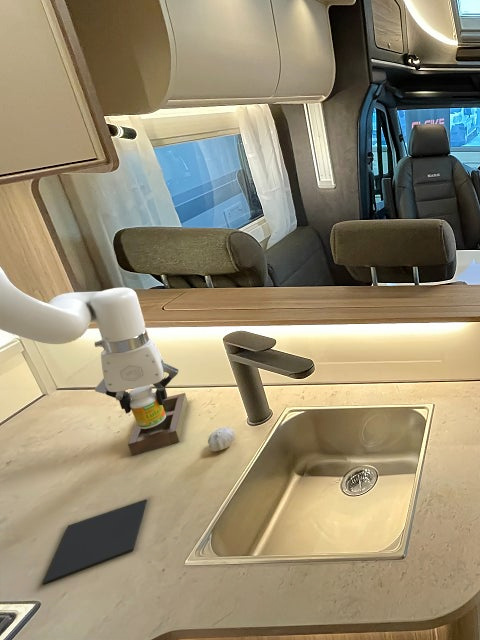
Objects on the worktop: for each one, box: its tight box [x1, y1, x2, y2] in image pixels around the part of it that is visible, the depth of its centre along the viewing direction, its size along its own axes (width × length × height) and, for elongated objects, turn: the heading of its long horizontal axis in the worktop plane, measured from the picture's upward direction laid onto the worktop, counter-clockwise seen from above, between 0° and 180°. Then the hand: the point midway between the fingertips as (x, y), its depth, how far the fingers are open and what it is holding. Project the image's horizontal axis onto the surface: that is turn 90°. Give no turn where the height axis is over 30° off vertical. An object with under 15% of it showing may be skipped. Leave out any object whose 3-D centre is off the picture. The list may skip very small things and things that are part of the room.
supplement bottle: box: [128, 385, 167, 429], centre depth 100 cm, size 5×5×10 cm
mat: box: [42, 498, 148, 585], centre depth 79 cm, size 12×12×1 cm
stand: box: [128, 392, 189, 456], centre depth 106 cm, size 9×16×4 cm, turn 30°
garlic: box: [207, 426, 236, 452], centre depth 101 cm, size 6×5×5 cm
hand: (146, 405), depth 100 cm, fingers closed on supplement bottle, 5 cm apart
